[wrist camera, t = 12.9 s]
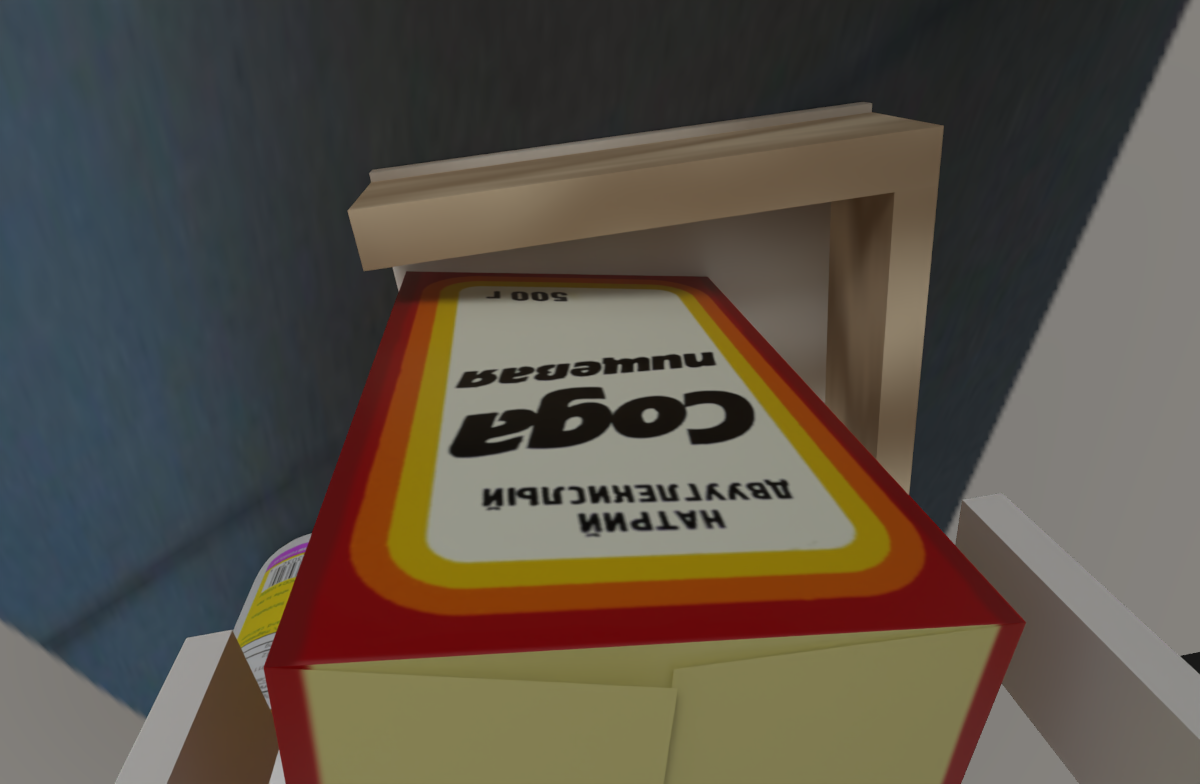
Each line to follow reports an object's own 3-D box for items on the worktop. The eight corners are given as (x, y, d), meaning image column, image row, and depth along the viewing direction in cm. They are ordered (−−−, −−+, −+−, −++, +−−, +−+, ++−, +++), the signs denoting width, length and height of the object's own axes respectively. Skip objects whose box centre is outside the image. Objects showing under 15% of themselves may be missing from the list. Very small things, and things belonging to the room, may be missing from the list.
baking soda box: (707, 276, 23) (1045, 643, 9) (685, 451, 26) (918, 940, 12) (406, 271, 22) (253, 694, 8) (417, 456, 25) (319, 1017, 11)
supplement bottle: (379, 678, 30) (311, 1077, 18) (224, 613, 27) (33, 1027, 16) (472, 568, 28) (461, 934, 17) (315, 488, 26) (173, 853, 14)
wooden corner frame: (372, 170, 21) (344, 200, 17) (862, 101, 22) (944, 115, 18) (475, 588, 28) (473, 678, 24) (843, 521, 29) (899, 597, 25)
